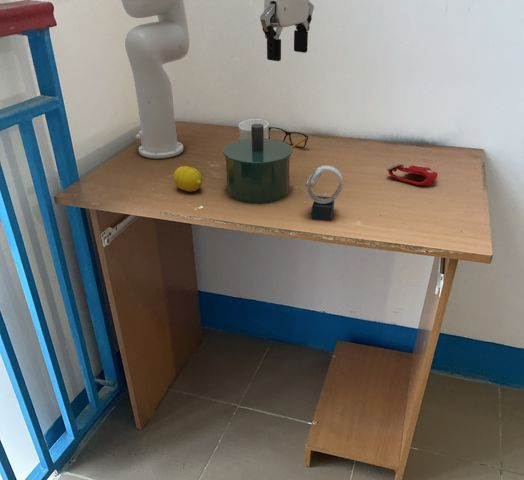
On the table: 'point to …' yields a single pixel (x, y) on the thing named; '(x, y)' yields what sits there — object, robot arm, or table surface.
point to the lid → (257, 149)
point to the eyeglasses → (290, 137)
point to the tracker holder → (416, 170)
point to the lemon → (187, 178)
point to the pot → (258, 181)
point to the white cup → (246, 128)
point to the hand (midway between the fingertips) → (287, 55)
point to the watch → (322, 205)
